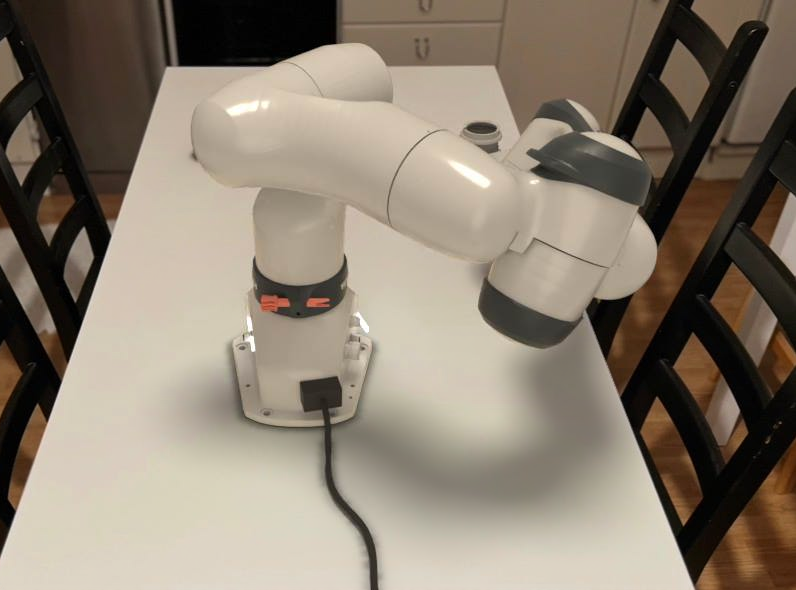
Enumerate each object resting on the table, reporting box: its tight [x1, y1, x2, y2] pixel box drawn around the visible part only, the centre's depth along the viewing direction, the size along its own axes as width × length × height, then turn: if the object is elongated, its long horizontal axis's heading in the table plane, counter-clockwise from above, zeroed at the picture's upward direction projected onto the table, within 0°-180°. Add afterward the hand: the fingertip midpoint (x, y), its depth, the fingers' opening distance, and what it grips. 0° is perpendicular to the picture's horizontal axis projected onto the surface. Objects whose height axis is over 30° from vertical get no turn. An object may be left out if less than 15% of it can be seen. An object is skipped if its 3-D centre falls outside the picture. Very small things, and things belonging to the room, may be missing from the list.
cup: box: [459, 119, 503, 154], centre depth 149 cm, size 7×7×12 cm
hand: (475, 149), depth 148 cm, fingers closed, pressing on cup
